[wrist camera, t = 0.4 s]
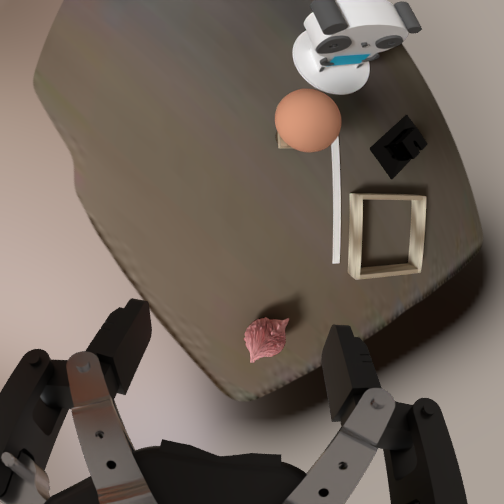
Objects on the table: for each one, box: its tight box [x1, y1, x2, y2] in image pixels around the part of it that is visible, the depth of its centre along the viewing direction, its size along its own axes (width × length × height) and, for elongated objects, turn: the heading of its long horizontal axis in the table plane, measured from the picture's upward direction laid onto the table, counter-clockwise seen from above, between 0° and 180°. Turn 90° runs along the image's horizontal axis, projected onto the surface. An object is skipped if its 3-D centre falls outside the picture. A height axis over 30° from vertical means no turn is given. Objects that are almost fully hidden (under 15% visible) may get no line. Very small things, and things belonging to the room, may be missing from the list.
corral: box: [348, 193, 426, 280], centre depth 36 cm, size 11×11×3 cm
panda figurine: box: [293, 0, 422, 95], centre depth 24 cm, size 12×11×15 cm
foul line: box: [331, 137, 341, 264], centre depth 36 cm, size 18×1×1 cm, turn 3°
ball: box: [275, 89, 341, 152], centre depth 23 cm, size 6×6×6 cm
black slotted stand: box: [370, 115, 427, 179], centre depth 33 cm, size 12×7×5 cm, turn 133°
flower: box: [244, 317, 289, 363], centre depth 38 cm, size 8×8×6 cm
